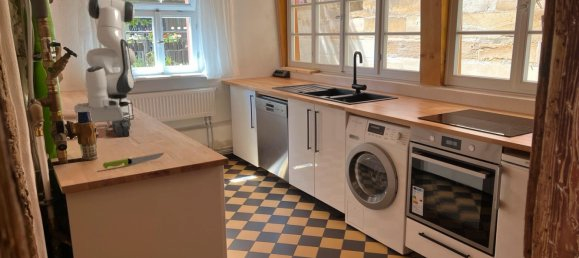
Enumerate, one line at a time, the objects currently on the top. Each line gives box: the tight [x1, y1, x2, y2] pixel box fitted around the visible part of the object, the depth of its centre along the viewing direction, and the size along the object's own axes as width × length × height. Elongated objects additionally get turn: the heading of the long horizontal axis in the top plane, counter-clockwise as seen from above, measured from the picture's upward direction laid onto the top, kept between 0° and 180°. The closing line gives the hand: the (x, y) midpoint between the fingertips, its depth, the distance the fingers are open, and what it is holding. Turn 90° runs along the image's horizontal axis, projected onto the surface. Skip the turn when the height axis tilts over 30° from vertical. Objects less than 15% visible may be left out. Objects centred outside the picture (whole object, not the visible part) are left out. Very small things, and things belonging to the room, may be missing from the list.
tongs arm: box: [122, 122, 130, 137], centre depth 207 cm, size 14×2×4 cm, turn 24°
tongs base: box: [111, 117, 131, 138], centre depth 209 cm, size 19×8×6 cm, turn 24°
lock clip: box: [97, 123, 107, 139], centre depth 204 cm, size 9×3×4 cm, turn 24°
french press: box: [109, 93, 135, 126], centre depth 222 cm, size 12×9×23 cm
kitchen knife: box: [102, 152, 165, 170], centre depth 159 cm, size 22×1×3 cm, turn 126°
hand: (101, 131), depth 204 cm, fingers closed on lock clip, 3 cm apart
